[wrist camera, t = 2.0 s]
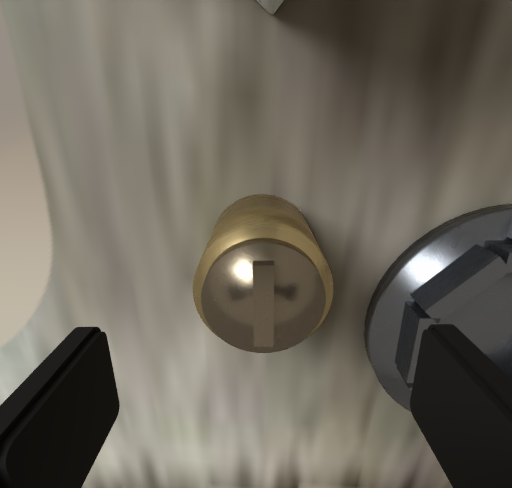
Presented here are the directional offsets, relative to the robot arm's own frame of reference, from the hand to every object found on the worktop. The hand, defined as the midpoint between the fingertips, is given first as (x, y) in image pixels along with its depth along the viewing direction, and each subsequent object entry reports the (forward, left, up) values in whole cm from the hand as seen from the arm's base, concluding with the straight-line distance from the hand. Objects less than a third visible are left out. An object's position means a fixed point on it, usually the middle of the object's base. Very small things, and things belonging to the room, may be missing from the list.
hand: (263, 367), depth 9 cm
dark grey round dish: (+4, +13, -8) cm, 16 cm away
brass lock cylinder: (-1, 0, -8) cm, 8 cm away
